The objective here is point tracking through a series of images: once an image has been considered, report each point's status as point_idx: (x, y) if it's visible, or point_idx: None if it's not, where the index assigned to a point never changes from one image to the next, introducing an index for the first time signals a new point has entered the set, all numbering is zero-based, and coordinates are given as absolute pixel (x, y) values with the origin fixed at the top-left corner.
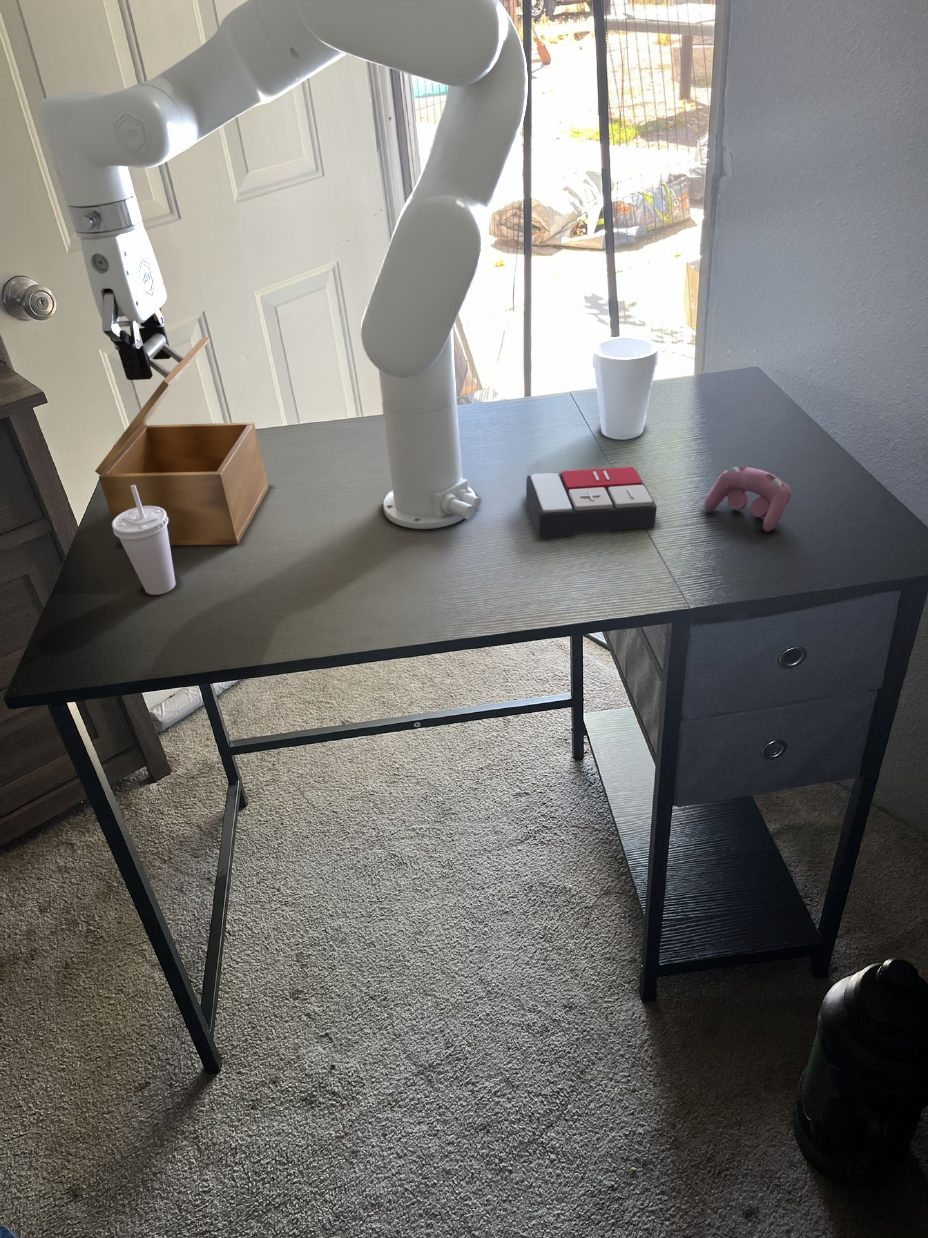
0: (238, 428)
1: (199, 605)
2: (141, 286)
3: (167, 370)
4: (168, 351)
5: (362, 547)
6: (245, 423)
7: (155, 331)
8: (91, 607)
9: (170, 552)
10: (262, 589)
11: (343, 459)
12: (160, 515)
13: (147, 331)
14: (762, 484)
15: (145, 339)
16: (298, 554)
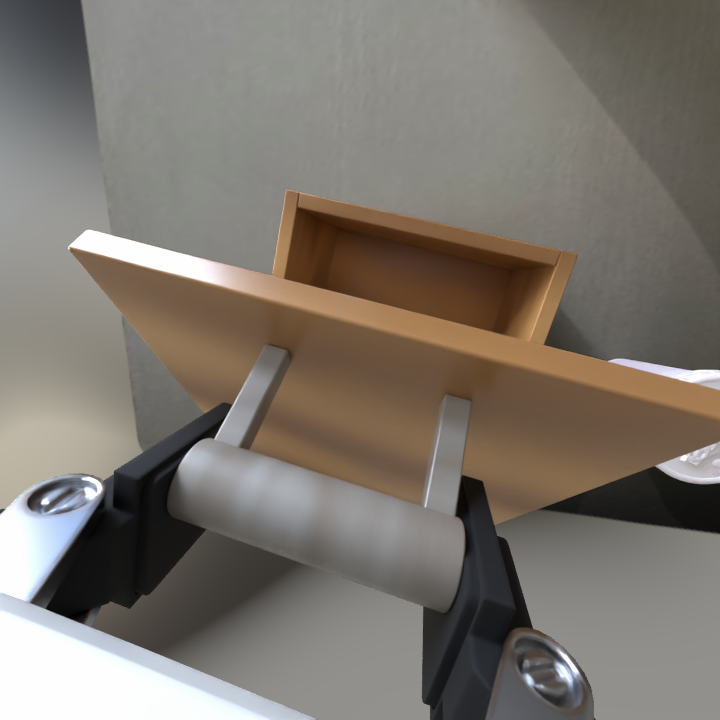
0: (296, 233)
1: (711, 315)
2: None
3: (444, 412)
4: (261, 419)
5: (630, 3)
6: (289, 212)
7: (158, 513)
8: (636, 474)
9: (659, 365)
10: (707, 207)
11: (251, 70)
12: (714, 386)
13: (152, 556)
14: None
15: (183, 543)
16: (604, 144)
